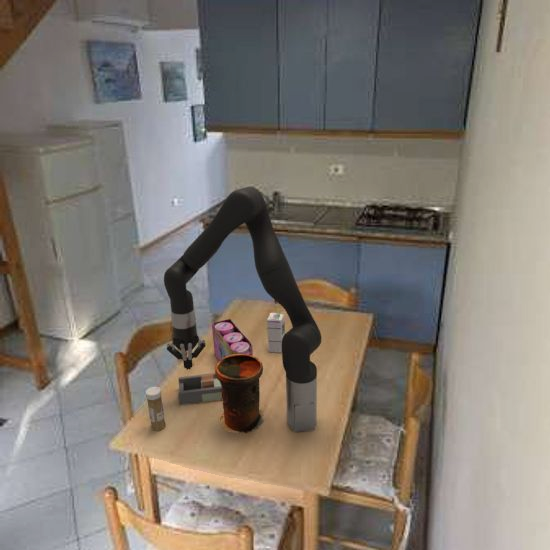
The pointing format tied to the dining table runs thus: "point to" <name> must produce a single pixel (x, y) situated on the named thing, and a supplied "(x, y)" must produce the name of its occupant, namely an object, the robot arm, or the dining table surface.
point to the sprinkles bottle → (155, 408)
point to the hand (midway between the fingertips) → (188, 368)
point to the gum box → (229, 340)
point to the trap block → (207, 381)
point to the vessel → (240, 392)
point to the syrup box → (275, 331)
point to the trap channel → (198, 390)
